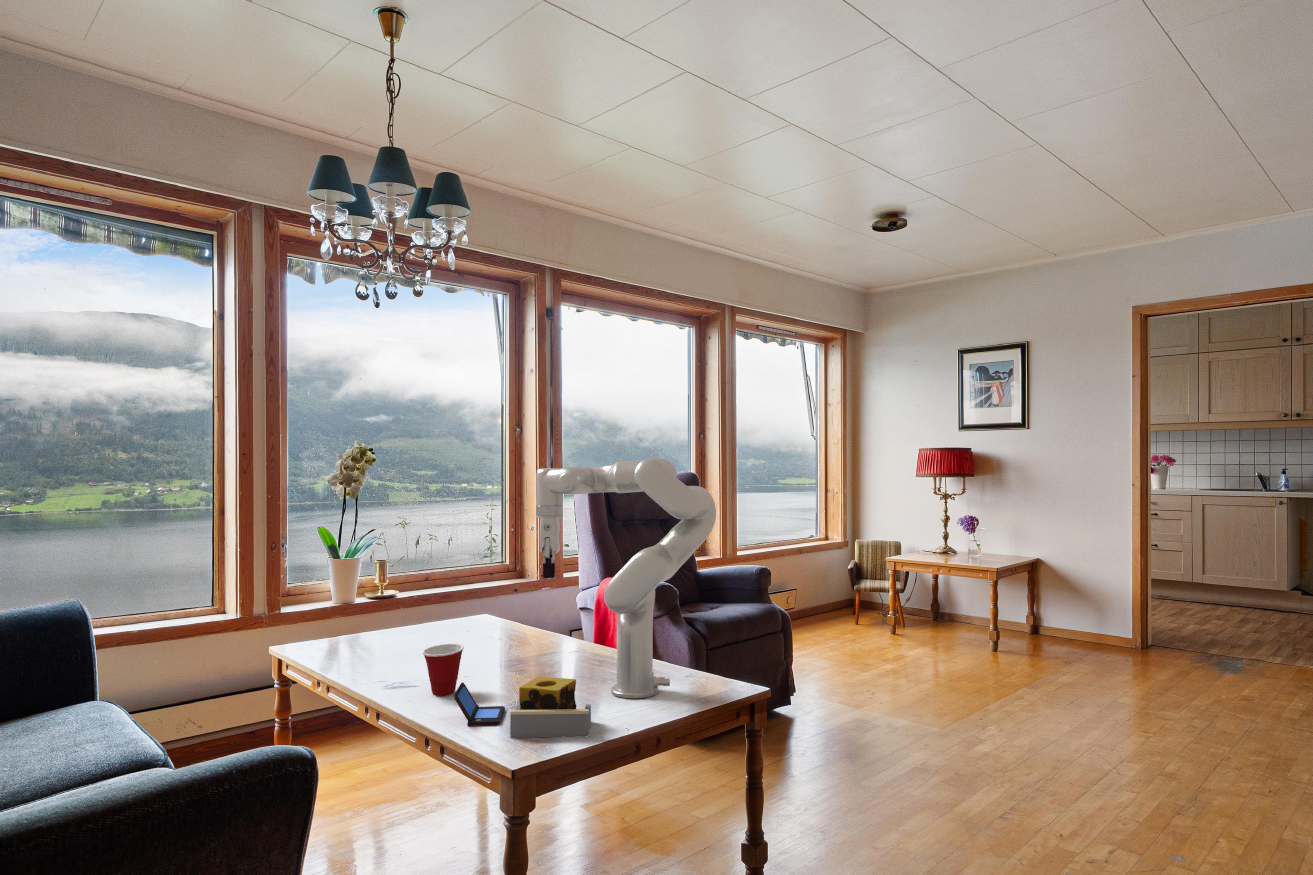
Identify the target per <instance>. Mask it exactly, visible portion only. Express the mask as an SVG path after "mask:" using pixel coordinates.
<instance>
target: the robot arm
mask: <svg viewBox="0 0 1313 875" xmlns="http://www.w3.org/2000/svg"><path fill="white" fill-rule="evenodd" d="M677 475H678V474H677V468H676V466H675V465H674V463H672V462H671V461H670V460H669V459H665V458H655V457H651V458H650V457H649V458H646V459H640V460H628V461H627V460H626V461H618V462H615V463H614V464H611V465H605V466H590V467H582V466H581V467H580V466H578V467H577V466H576V467H572V466H571V467H562V468H556V467H548V468H547V467H545V468H543V467H541V468H539V469H537V470H536V475H535V476H536V480H535V485H536V486H535V518H536V519H537V518H539V552H540V553H541V554H543V564H542V578H543V579H555V577H556V562H555V557H556V556H555V554H558V553H559V552H560V551H561V521H560V519H561V518H563V517H564V495H568V496H569V495H581V494H582V495H587V494H588V495H589V494H599V493H617V494H625V493H626V494H627V493H628V494H629V493H640V492H641V493H643V492H644V493H645V494H646V496H648V497H649V498H650V499H651V500H653V501H654V502H655V503H656V504H658V506H659V507H661V508H662V509H663V510H664V511H666V512H667V513H668V514H669V516H670V515H671V517H673V518H675V519H678V520H680V521H679V522H678V523H677V524H675V525H674V526H673V527H672V528H671V529H670V530H669V532H668V533H667V534H666V535H665V536H664V537H663V538H662V539H661V540H660V541H659V542H657V543H656V544H655V545H653V546H649V547H645V548H643V549H641V550H640V551H638V552H637V553H635V554H634V555H632V557H631V558H629V560H628V561H627V563H625V564H624V566H623V567H621V569H620V570H619V571H618V572H616V574H615V575H614V576H613V577H612V578H611V579H610V580H609V582H608V583H607V584H606V586H605V588H604V592H603V597H604V600H603V601H604V603H605V606H606V607H607V608H608V609H609V610H610V611H611V612H613V613H615V614H617V623H616V684H614V685H613V686H611V688H610V692H611V694H612V695H613V696H615V697H617V698H623V699H644V698H645V699H646V698H649V697H650V698H651V697H653V696H655V695H657V694H658V693H659V686H661V687H662V686H663V687H670V686H671V683H670V682H671V681H670V677H669V678H668V677H667V678H665V676H664V677H663V676H660V677H657V676H655V674H654V670H653V663H654V662H653V656H654V655H653V650H654V649H653V643H654V642H653V634H654V633H653V632H654V630H653V627H654V626H653V624H654V621H653V620H654V608H655V601H656V600H655V599H656V587H657V586H658V585H659V584H661V583H663V582H665V581H668V580H670V579H671V578H672V577H673V576H674V575H675V574H676V573H677V572H678V571H679V569H680V568H681V567H682V566H683V565H684V564H685V563H686V562H687V561H688V560H689V559H690V557H692V556H693V554H694V553H695V552H696V551H697V550H698V549H699V548H700V547H701V545H703V544H704V542H705V541H706V540H707V539H708V537H709V536H710V534H711V533H712V531H713V528H714V527H715V523H716V518H717V507H716V504H715V500H714V497H713V496H712V494H711V493H710V492H709V491H708V490H707V489H706V488H704V487H703V486H697V485H686V484H685V483H684V482H682V480H680V479H679V478H678V476H677Z"/></svg>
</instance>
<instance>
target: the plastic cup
mask: <svg viewBox="0 0 1313 875" xmlns="http://www.w3.org/2000/svg"><path fill="white" fill-rule="evenodd" d="M464 647H465V646H464V645H463V644H460V643H444V644H442V643H441V644H438V645H433V646H430V647H427V648H425V649H423V650H422V651H421V654H422V655H423V657H424V659H425V663H426V667H427V673H428V678H429V683H430V689H431V690H430V691H431V693H432V695H433V696H435V697H436V696H437V697H446V696H451V695H454V694H455V692H456V690H457V689H456V687H457V681H458V678H459V671H460V665H461V660H462V655H463V651H464Z"/></svg>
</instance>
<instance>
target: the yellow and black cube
mask: <svg viewBox="0 0 1313 875" xmlns="http://www.w3.org/2000/svg"><path fill="white" fill-rule="evenodd" d="M576 686H577V679H576V678H563V677H553V676H537V677H535V678H533V679H532V680H530V681H528V682H525V683H524V684H522V685H520V686H519V690H518V694H519V695H518V696H519V697H518V698H519V699H518V702H519V705H520V710H558V709H577V707H578V706H577V703H576V697H575V696H576V694H575V693H576Z"/></svg>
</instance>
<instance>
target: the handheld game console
mask: <svg viewBox="0 0 1313 875" xmlns="http://www.w3.org/2000/svg"><path fill="white" fill-rule="evenodd" d="M453 698H454V700H455V702H456V704H457V706H458V707H459V710H461V712H462V714H463V715H464V718H465V719H466V720H467V723H466V725H467V726H468V727H485V726H489V727H490V726H491V727H492V726H498V725H500V724H501V722H502V719H503V716H504V715H505V714H504V713H505V711H506V707H505V706H504V705H501V706H500V705H495V706H491V705H490V706H479V704H477V702H476V701H475V699H474V696H472V694H471V692H470V691H469V689H468V688H467V685H466V684H465V683H464V681H463V682H460V684H459V686H458V688H457V689H456V690H455V692H454V693H453Z"/></svg>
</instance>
